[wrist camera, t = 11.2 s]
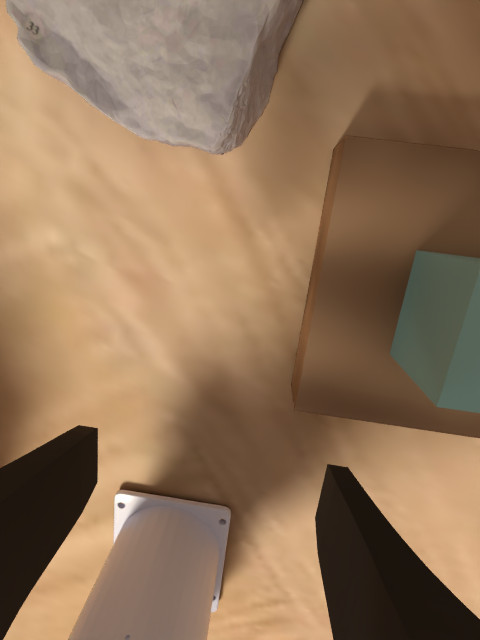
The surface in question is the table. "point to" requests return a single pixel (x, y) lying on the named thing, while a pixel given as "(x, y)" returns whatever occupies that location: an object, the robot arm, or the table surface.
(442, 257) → the teal cube
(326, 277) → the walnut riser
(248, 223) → the table surface
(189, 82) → the stone block
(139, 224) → the table surface
